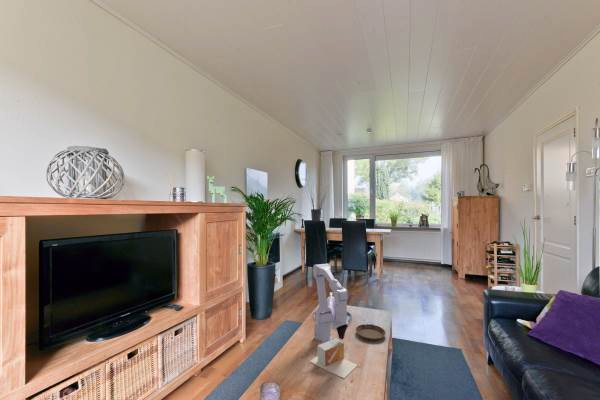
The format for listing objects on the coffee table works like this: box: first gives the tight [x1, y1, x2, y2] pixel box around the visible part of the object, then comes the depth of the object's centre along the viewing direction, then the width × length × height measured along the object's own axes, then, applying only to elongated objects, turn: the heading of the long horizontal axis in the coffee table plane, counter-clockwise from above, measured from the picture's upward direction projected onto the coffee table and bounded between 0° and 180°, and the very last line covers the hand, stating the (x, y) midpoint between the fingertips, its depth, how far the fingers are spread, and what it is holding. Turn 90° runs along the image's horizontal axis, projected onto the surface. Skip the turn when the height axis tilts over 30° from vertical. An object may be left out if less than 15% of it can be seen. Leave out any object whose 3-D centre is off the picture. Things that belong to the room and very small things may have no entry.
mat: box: [309, 355, 358, 380], centre depth 134 cm, size 20×13×1 cm, turn 49°
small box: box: [316, 338, 345, 367], centre depth 137 cm, size 8×6×13 cm
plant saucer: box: [355, 323, 387, 342], centre depth 163 cm, size 18×18×3 cm
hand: (341, 338), depth 140 cm, fingers closed
